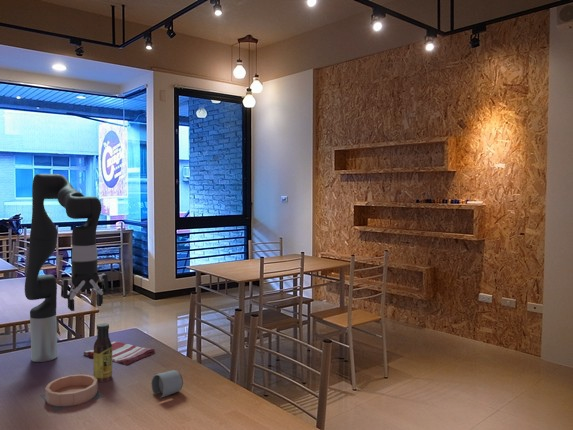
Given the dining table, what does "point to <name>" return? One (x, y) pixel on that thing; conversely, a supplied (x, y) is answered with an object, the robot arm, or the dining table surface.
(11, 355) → the dining table surface
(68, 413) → the dining table surface
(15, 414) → the dining table surface
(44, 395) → the mat
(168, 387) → the ceramic mug
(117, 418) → the dining table surface
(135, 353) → the dish towel
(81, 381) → the bowl
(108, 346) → the sauce bottle
